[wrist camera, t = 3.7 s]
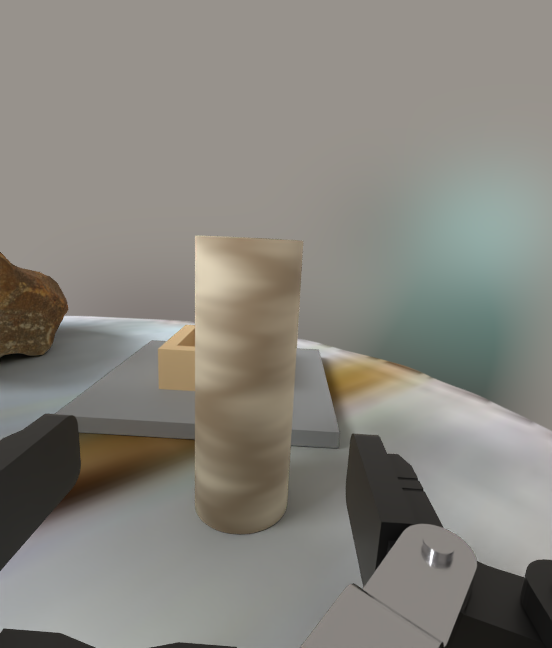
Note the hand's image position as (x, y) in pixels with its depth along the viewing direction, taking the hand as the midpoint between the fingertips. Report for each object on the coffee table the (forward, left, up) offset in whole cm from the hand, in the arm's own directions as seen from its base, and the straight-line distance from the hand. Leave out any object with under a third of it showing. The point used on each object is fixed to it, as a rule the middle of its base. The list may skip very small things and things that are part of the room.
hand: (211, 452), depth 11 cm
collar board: (-4, +25, -8) cm, 26 cm away
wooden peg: (0, +9, -8) cm, 12 cm away
